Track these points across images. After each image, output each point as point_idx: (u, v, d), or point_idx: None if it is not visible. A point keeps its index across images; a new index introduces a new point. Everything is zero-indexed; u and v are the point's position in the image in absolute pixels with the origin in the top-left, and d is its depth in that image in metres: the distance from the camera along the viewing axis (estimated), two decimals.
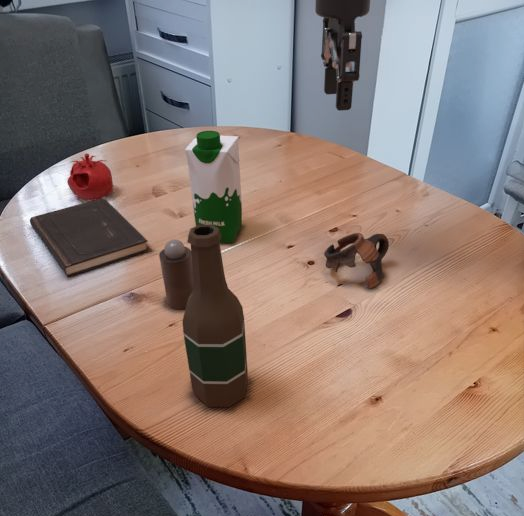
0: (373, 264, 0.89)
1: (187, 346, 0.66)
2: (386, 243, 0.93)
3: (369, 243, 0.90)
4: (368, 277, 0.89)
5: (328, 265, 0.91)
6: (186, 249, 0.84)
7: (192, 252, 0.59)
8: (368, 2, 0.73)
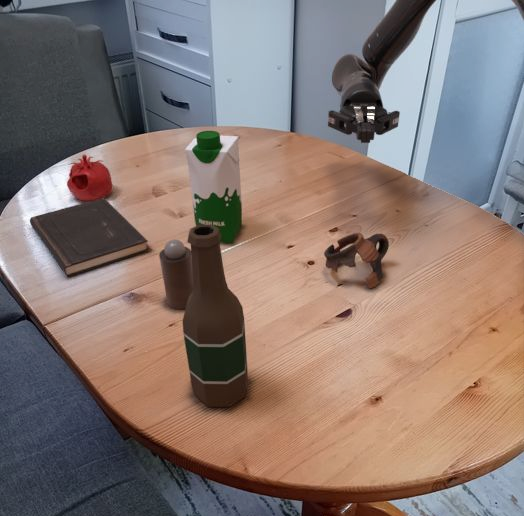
0: (373, 264, 0.89)
1: (187, 346, 0.66)
2: (386, 242, 0.93)
3: (369, 243, 0.90)
4: (368, 277, 0.89)
5: (328, 265, 0.91)
6: (186, 249, 0.84)
7: (192, 252, 0.59)
8: (351, 91, 0.97)
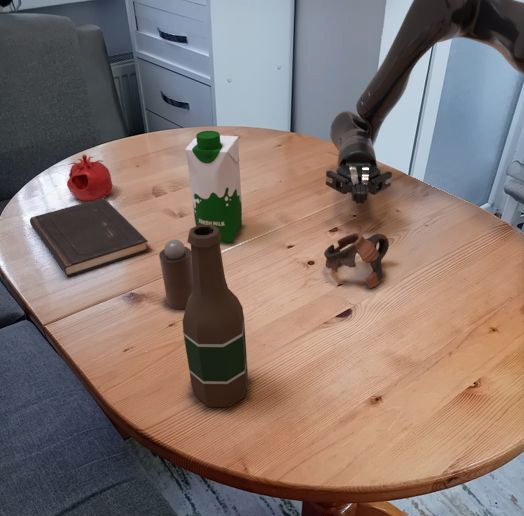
0: (373, 264, 0.89)
1: (187, 346, 0.66)
2: (386, 242, 0.93)
3: (369, 243, 0.90)
4: (368, 277, 0.89)
5: (328, 265, 0.91)
6: (186, 249, 0.84)
7: (192, 252, 0.59)
8: (347, 151, 1.04)
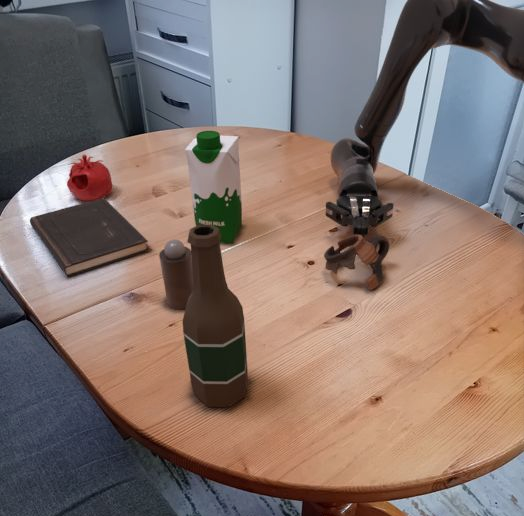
0: (373, 266, 0.88)
1: (187, 346, 0.66)
2: (386, 244, 0.92)
3: (369, 245, 0.89)
4: (368, 279, 0.89)
5: (328, 267, 0.91)
6: (186, 249, 0.84)
7: (192, 252, 0.59)
8: (347, 181, 1.02)
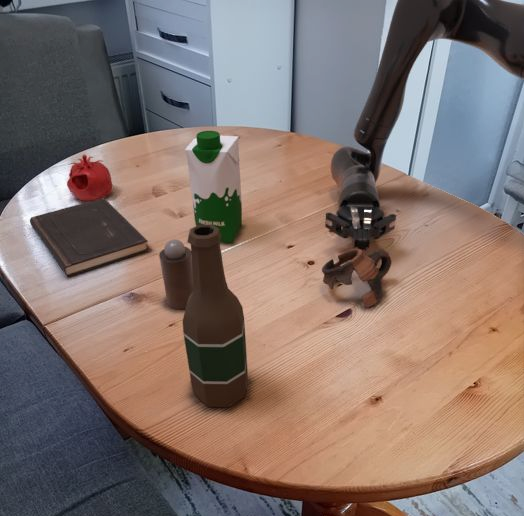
0: (371, 283, 0.85)
1: (187, 346, 0.66)
2: (388, 260, 0.88)
3: (369, 260, 0.86)
4: (365, 296, 0.85)
5: (325, 281, 0.87)
6: (186, 249, 0.84)
7: (192, 252, 0.59)
8: (348, 191, 0.98)
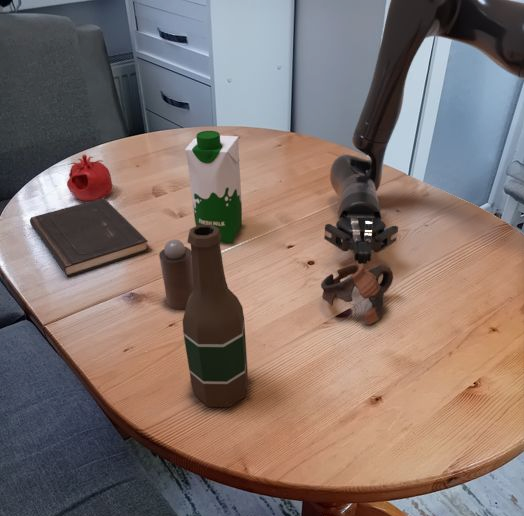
0: (372, 299, 0.81)
1: (187, 346, 0.66)
2: (390, 275, 0.85)
3: (370, 276, 0.82)
4: (366, 313, 0.82)
5: (324, 297, 0.84)
6: (186, 249, 0.84)
7: (192, 252, 0.59)
8: (348, 202, 0.94)
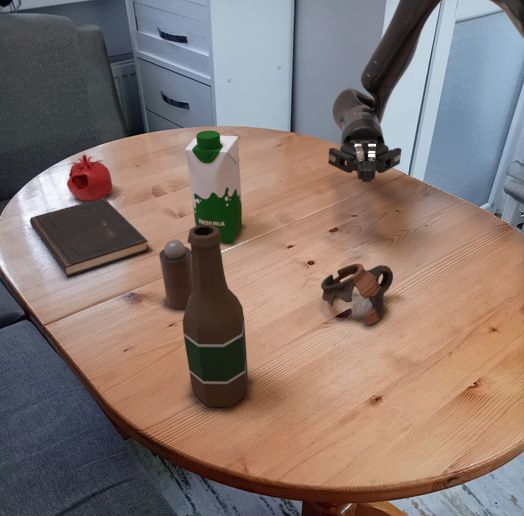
0: (372, 300, 0.81)
1: (187, 346, 0.66)
2: (390, 275, 0.85)
3: (370, 276, 0.82)
4: (366, 313, 0.82)
5: (324, 297, 0.84)
6: (186, 249, 0.84)
7: (192, 252, 0.59)
8: (351, 127, 0.95)
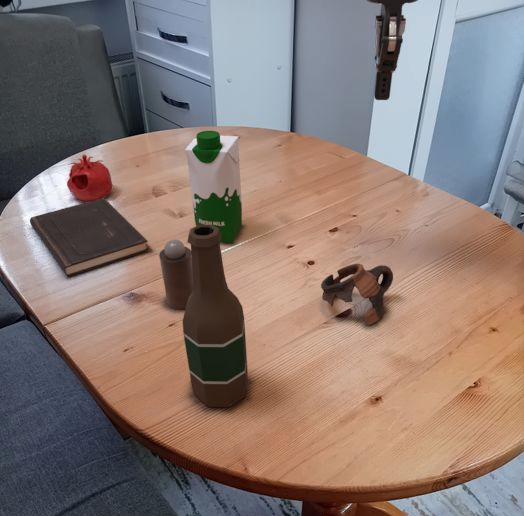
0: (372, 300, 0.81)
1: (187, 346, 0.66)
2: (390, 275, 0.85)
3: (370, 276, 0.82)
4: (366, 313, 0.82)
5: (324, 297, 0.84)
6: (186, 249, 0.84)
7: (192, 252, 0.59)
8: None
